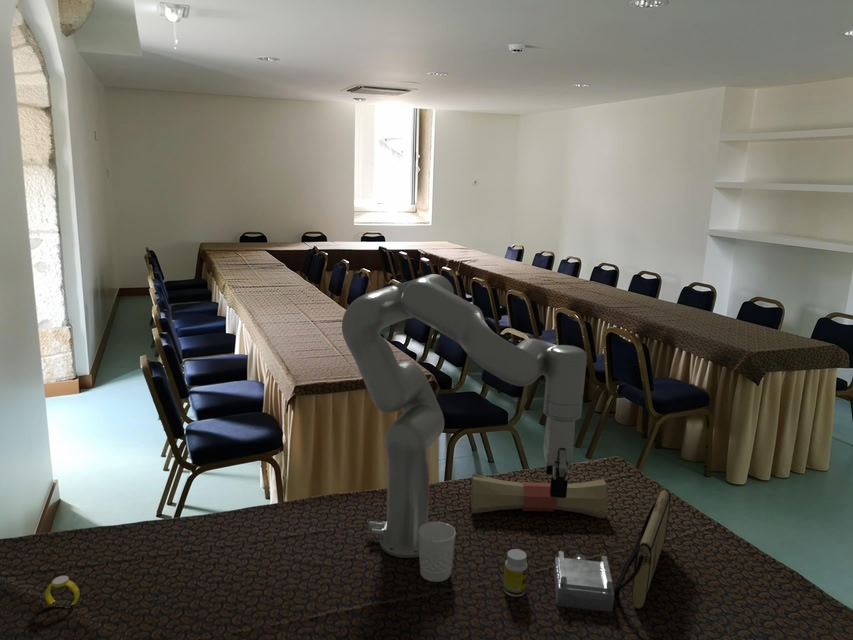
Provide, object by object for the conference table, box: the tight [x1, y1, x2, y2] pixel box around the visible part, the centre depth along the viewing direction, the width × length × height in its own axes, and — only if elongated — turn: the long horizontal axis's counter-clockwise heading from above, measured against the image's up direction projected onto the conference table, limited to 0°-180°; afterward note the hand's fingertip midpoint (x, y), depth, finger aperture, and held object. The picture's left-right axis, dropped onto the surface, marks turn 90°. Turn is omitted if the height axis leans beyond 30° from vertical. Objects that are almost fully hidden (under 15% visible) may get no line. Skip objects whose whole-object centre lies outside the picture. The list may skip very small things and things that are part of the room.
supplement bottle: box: [502, 548, 528, 598], centre depth 135 cm, size 5×5×8 cm
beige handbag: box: [613, 488, 671, 610], centre depth 141 cm, size 30×7×15 cm, turn 152°
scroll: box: [470, 473, 609, 520], centre depth 167 cm, size 11×34×10 cm, turn 89°
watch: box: [44, 575, 81, 606], centre depth 126 cm, size 6×3×6 cm, turn 91°
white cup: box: [418, 521, 457, 583], centre depth 140 cm, size 8×8×10 cm
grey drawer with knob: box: [553, 550, 615, 613], centre depth 137 cm, size 11×14×6 cm
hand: (555, 485), depth 134 cm, fingers open, 9 cm apart
